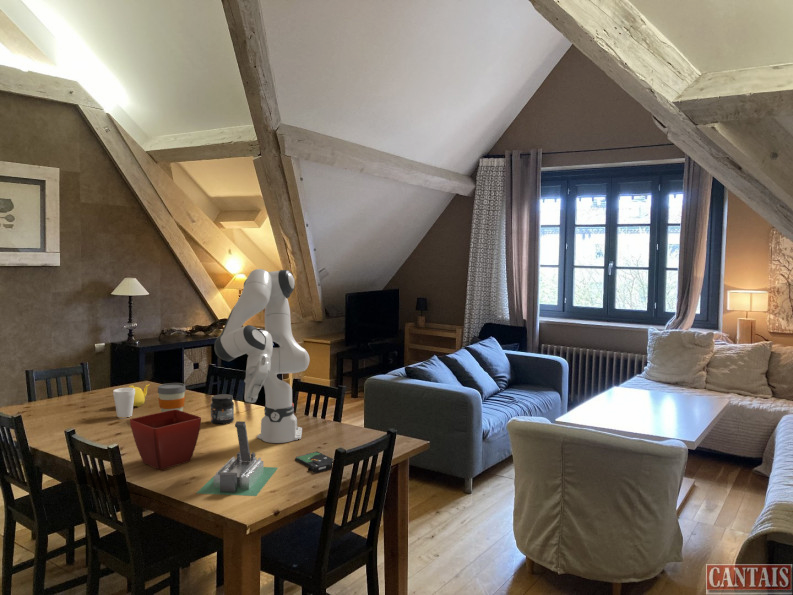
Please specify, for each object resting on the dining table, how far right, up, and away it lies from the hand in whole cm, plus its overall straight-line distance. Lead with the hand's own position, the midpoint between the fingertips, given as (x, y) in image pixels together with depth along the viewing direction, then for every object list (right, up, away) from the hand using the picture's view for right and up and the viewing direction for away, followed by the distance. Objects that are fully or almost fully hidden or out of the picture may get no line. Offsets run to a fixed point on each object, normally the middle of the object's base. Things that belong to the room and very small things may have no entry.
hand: (254, 400), depth 219 cm
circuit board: (-3, -27, -10) cm, 29 cm away
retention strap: (-2, -14, -8) cm, 16 cm away
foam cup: (-78, -20, +71) cm, 107 cm away
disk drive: (+21, -26, +8) cm, 35 cm away
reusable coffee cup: (-56, -20, +72) cm, 94 cm away
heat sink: (-3, -26, -12) cm, 29 cm away
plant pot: (-35, -25, +9) cm, 44 cm away
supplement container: (-30, -21, +64) cm, 74 cm away
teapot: (-83, -19, +90) cm, 124 cm away
